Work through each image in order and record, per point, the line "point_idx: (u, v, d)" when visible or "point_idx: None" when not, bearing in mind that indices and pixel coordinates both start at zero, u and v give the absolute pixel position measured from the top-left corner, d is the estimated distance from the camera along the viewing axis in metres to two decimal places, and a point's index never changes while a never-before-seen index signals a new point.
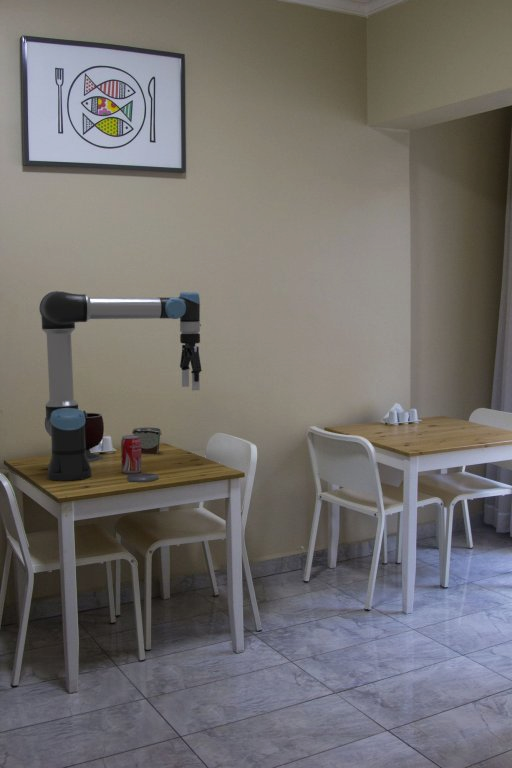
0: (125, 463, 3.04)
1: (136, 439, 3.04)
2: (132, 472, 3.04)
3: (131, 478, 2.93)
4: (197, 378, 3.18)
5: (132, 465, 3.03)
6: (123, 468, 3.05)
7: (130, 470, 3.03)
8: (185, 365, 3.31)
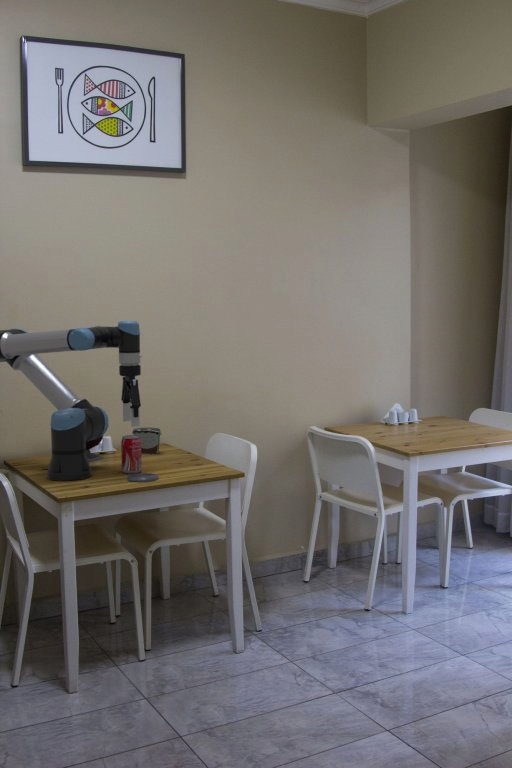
0: (125, 463, 3.04)
1: (136, 439, 3.04)
2: (132, 472, 3.04)
3: (131, 478, 2.93)
4: (136, 413, 2.97)
5: (132, 465, 3.03)
6: (123, 468, 3.05)
7: (130, 470, 3.03)
8: (126, 398, 3.10)
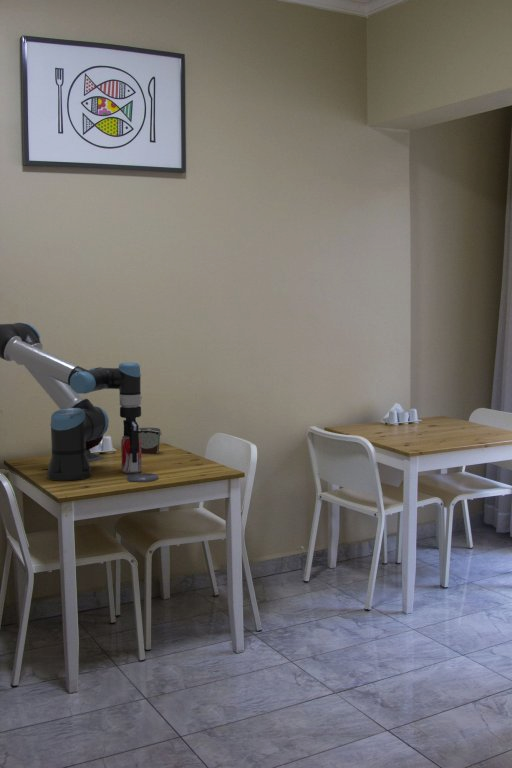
0: (125, 463, 3.04)
1: None
2: (132, 472, 3.04)
3: (131, 478, 2.93)
4: (135, 459, 3.01)
5: None
6: (123, 468, 3.04)
7: None
8: None
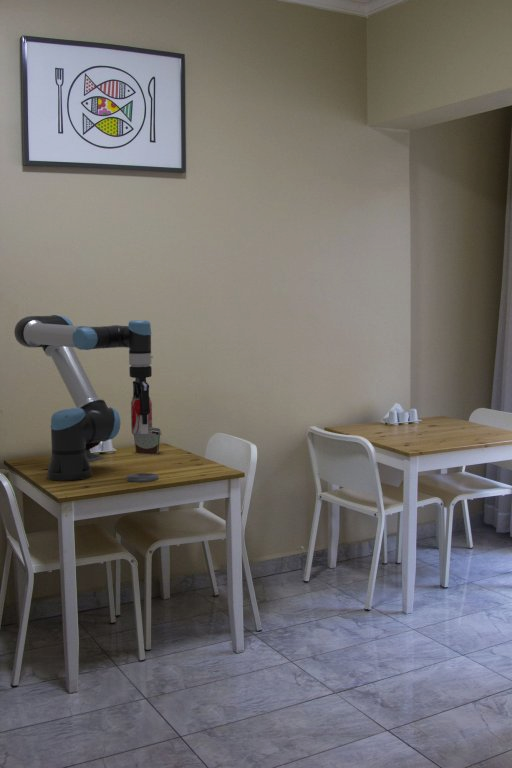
0: (135, 426, 2.91)
1: None
2: (142, 434, 2.91)
3: (131, 478, 2.93)
4: (145, 420, 2.89)
5: None
6: (133, 430, 2.92)
7: None
8: None
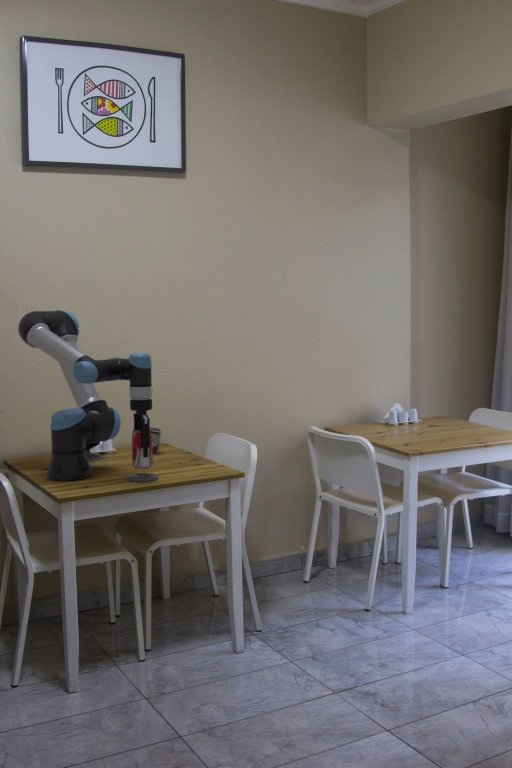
0: (136, 458, 2.92)
1: None
2: (143, 467, 2.92)
3: (131, 478, 2.93)
4: (146, 453, 2.90)
5: None
6: (134, 463, 2.93)
7: None
8: None
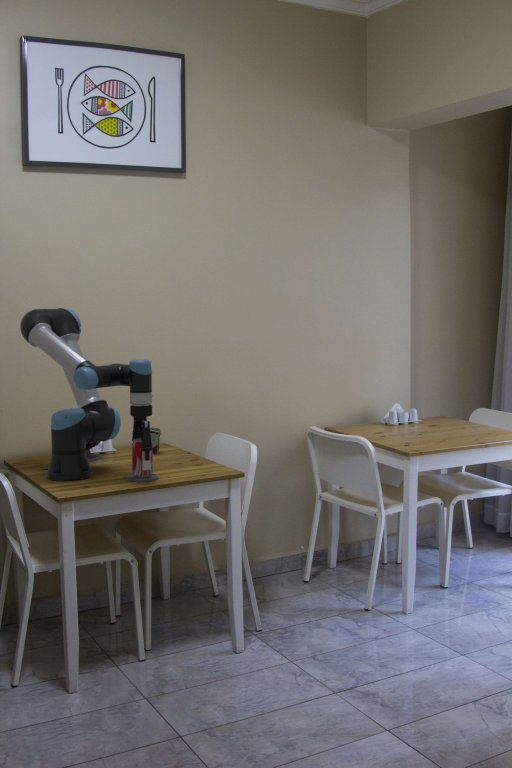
0: (136, 468, 2.92)
1: None
2: (143, 476, 2.93)
3: (131, 478, 2.93)
4: (148, 457, 2.87)
5: None
6: (134, 472, 2.93)
7: (141, 475, 2.92)
8: None
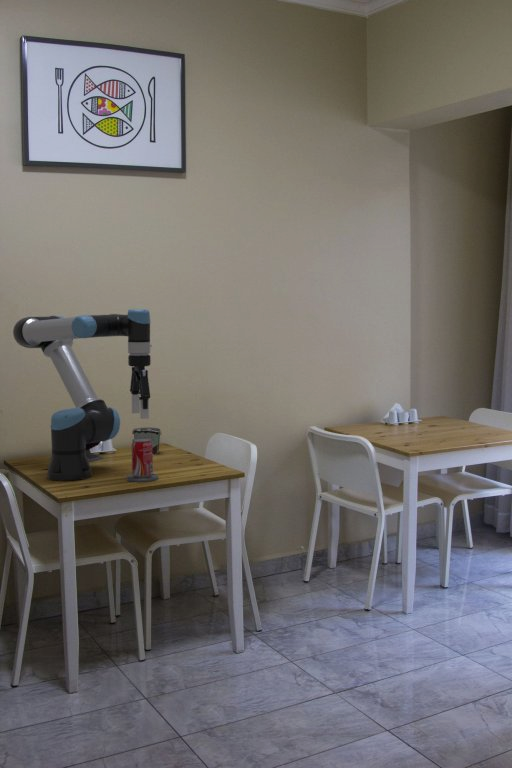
0: (136, 468, 2.92)
1: (147, 442, 2.92)
2: (143, 476, 2.93)
3: (131, 478, 2.93)
4: (146, 405, 2.86)
5: (143, 469, 2.92)
6: (134, 472, 2.93)
7: (141, 475, 2.92)
8: (135, 389, 2.99)
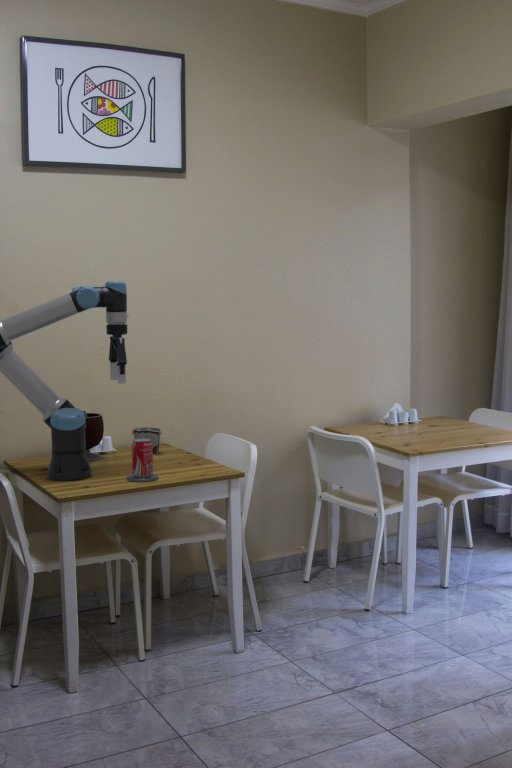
0: (136, 468, 2.92)
1: (147, 442, 2.92)
2: (143, 476, 2.93)
3: (131, 478, 2.93)
4: (123, 371, 3.05)
5: (143, 469, 2.92)
6: (134, 472, 2.93)
7: (141, 475, 2.92)
8: (113, 357, 3.18)
